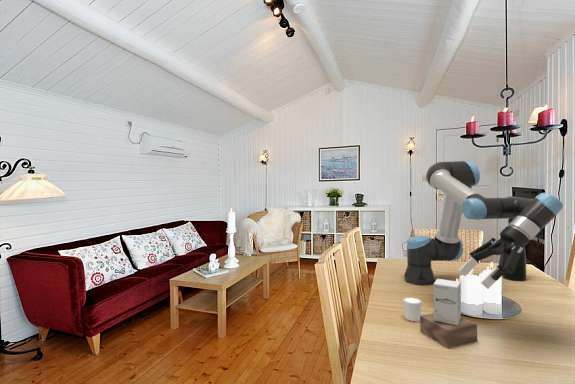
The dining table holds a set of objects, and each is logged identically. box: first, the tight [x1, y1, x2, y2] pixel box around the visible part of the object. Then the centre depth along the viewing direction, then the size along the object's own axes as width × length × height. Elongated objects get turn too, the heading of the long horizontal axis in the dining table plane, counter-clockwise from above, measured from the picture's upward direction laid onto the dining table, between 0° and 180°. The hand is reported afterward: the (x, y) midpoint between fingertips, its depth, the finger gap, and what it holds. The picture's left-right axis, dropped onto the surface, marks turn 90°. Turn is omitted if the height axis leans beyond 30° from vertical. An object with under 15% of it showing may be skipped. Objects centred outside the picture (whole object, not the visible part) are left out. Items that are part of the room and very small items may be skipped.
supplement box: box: [433, 278, 462, 326], centre depth 104 cm, size 7×7×13 cm
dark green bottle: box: [501, 218, 527, 282], centre depth 164 cm, size 10×10×33 cm
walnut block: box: [419, 312, 478, 350], centre depth 104 cm, size 12×12×6 cm
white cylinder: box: [402, 297, 423, 322], centre depth 118 cm, size 7×7×7 cm
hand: (472, 279), depth 103 cm, fingers open, 13 cm apart
